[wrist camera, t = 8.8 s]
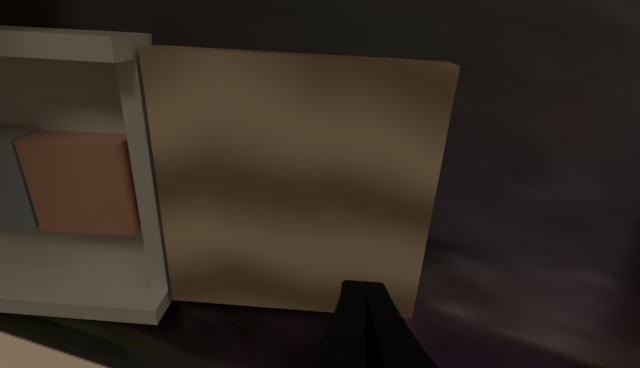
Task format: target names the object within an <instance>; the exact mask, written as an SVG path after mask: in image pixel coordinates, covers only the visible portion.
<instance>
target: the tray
mask: <svg viewBox="0 0 640 368" xmlns="http://www.w3.org/2000/svg"><path fill="white" fill-rule="evenodd" d="M148 46H153V43H152V35H151V34H149V33H131V32H113V31H95V30H78V29H60V28H42V27H24V26H6V25H0V125H8V126H24V127H39V128H41V131H42V130H58V131H78V132H98V133H118V134H126V136H127V142H128V148H129V154H130V161H131V167H132V173H133V179H134V185H135V191H136V198H137V204H138V210H139V216H140V222H141V227H140V228H139V229H138V230H137V231H136V232H135V233H134V234H133V235H132V236H126V235H109V234H92V233H76V232H59V231H42V230H41V229H40V226H39V227H37V228H25V227H11V226H0V312H2V313H15V314H27V315H39V316H52V317H64V318H77V319H89V320H102V321H114V322H126V323H139V324H151V325H157V324H158V323H159V321H160V320H161V318H162V316H163V315H164V313H165V311H166V310H167V308H168V306H169V305H170V303H171V301H172V300H173V299H172V292H171V284H170V277H169V270H168V262H167V255H166V247H165V240H164V233H163V225H162V218H161V211H160V203H159V196H158V189H157V181H156V174H155V167H154V159H153V152H152V145H151V137H150V130H149V123H148V115H147V108H146V101H145V93H144V86H143V78H142V71H141V64H140V56H139V49H138V48H140V47H148Z"/></svg>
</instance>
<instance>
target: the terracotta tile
mask: <svg viewBox="0 0 640 368" xmlns="http://www.w3.org/2000/svg"><path fill="white" fill-rule="evenodd" d="M14 144H15V147H16V151H17V154H18V157H19V160H20V164H21V167H22V170H23V174H24V177H25V180H26V183H27V187H28V190H29V193H30V197H31V200H32V203H33V206H34V210H35V213H36V216H37V220H38V223H39V226H40V229H41V230H42V231H59V232H76V233H92V234H109V235H126V236H132V235H133V234H134V233H135V232H136V231H137V230H138V229H139V228H140V227H141V222H140V216H139V210H138V204H137V198H136V191H135V185H134V179H133V173H132V167H131V161H130V154H129V148H128V142H127V136H126V134H118V133H98V132H78V131H58V130H42V131H39V132H36V133H34V134H31V135H28V136H25V137H23V138H20V139H17V140H15V141H14Z"/></svg>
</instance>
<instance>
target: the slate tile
mask: <svg viewBox="0 0 640 368" xmlns="http://www.w3.org/2000/svg"><path fill="white" fill-rule="evenodd" d="M39 131H41V128H39V127H24V126H8V125H0V226H11V227H25V228H37V227H39V223H38V220H37V216H36V213H35V210H34V206H33V203H32V200H31V197H30V193H29V190H28V187H27V183H26V180H25V177H24V174H23V170H22V167H21V164H20V160H19V157H18V154H17V151H16V147H15V144H14V141H15V140H17V139H20V138H23V137H25V136H28V135H31V134H34V133H36V132H39Z"/></svg>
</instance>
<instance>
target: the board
mask: <svg viewBox="0 0 640 368" xmlns="http://www.w3.org/2000/svg"><path fill="white" fill-rule="evenodd" d="M138 49H139V56H140V64H141V71H142V78H143V86H144V93H145V101H146V108H147V115H148V123H149V130H150V137H151V145H152V152H153V159H154V167H155V174H156V181H157V189H158V196H159V203H160V211H161V218H162V225H163V233H164V240H165V247H166V255H167V262H168V270H169V277H170V284H171V292H172V299H173V300H179V301H192V302H205V303H218V304H230V305H243V306H256V307H269V308H281V309H294V310H307V311H320V312H333V313H334V311H335V309H336V306H337V303H338V300H339V296H340V292H341V283H342V282H343V281H344V280H354V281H369V282H382V283H383V284H384V285H385V287H386V289H387V291H388V293H389V295H390V297H391V299H392V301H393V302H394V304H395V306H396V308H397V309H398V311H399V313H400V315H401V316H402V318H409V319H412V315H413V310H414V304H415V299H416V294H417V289H418V283H419V278H420V273H421V268H422V263H423V257H424V252H425V247H426V242H427V236H428V231H429V226H430V221H431V215H432V210H433V205H434V200H435V195H436V189H437V184H438V179H439V174H440V168H441V163H442V158H443V153H444V147H445V142H446V137H447V132H448V126H449V121H450V116H451V111H452V106H453V100H454V95H455V90H456V85H457V79H458V74H459V69H460V66H458V65H456V64H453V63H451V62H448V61H430V60H413V59H395V58H378V57H360V56H343V55H325V54H308V53H290V52H273V51H255V50H237V49H220V48H202V47H185V46H167V45H155V46H148V47H140V48H138Z"/></svg>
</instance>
